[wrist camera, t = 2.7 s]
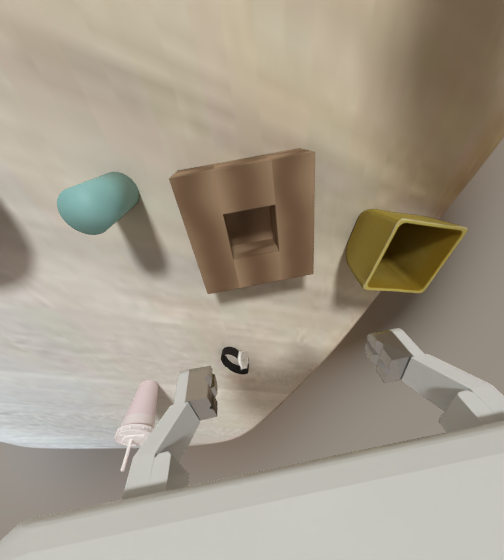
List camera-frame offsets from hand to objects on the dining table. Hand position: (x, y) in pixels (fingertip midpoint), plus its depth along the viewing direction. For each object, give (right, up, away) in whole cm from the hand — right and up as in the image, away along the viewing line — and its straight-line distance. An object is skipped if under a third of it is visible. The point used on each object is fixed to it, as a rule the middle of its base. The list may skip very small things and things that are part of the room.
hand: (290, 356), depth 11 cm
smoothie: (-23, -18, +35) cm, 46 cm away
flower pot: (+15, +11, +21) cm, 28 cm away
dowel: (-17, +14, +14) cm, 26 cm away
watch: (-5, -11, +33) cm, 35 cm away
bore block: (-2, +12, +18) cm, 21 cm away
